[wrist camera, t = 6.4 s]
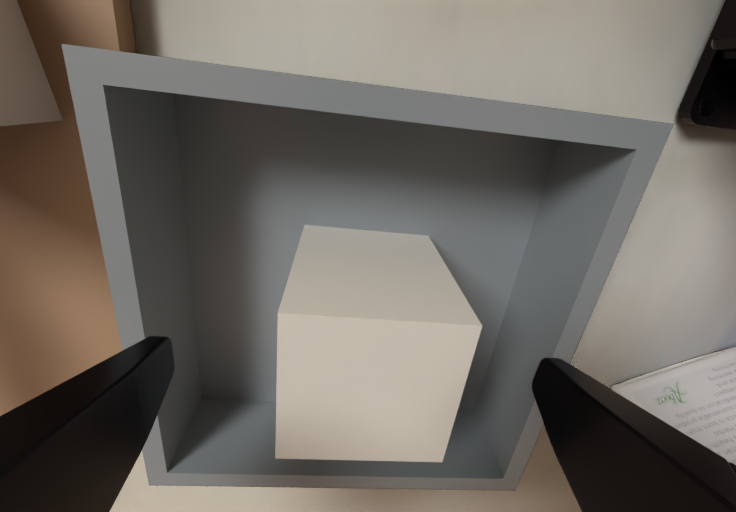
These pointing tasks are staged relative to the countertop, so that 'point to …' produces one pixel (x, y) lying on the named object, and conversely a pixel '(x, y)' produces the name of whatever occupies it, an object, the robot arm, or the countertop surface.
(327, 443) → the stone
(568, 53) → the countertop surface
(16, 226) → the brown rectangular board
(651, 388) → the syrup box
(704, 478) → the robot arm
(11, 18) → the cream white block
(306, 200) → the bin
